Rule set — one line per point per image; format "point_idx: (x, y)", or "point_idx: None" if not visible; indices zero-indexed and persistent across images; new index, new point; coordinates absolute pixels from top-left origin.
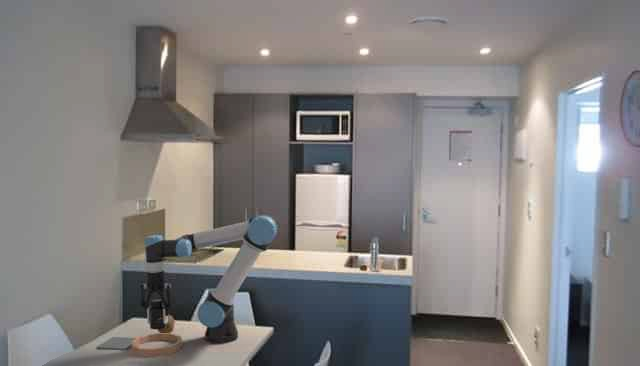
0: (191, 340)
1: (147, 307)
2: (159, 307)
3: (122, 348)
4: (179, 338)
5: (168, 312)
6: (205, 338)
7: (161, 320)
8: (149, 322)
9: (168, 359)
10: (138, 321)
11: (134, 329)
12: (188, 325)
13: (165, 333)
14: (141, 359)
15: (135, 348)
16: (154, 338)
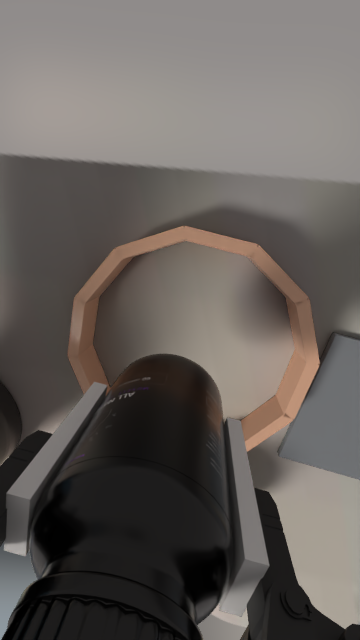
0: (66, 406)
1: (266, 597)
2: (63, 533)
3: (354, 341)
4: (84, 375)
5: (11, 462)
6: (4, 398)
7: (109, 395)
8: (226, 426)
9: (97, 177)
10: None
11: (323, 561)
12: None
13: None
14: (232, 188)
15: (283, 271)
16: None
